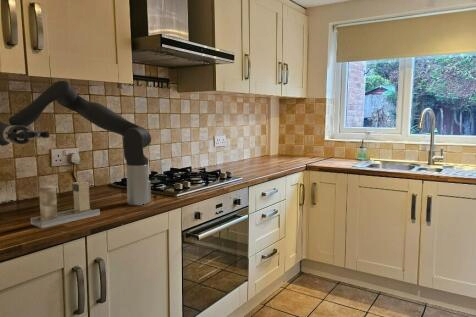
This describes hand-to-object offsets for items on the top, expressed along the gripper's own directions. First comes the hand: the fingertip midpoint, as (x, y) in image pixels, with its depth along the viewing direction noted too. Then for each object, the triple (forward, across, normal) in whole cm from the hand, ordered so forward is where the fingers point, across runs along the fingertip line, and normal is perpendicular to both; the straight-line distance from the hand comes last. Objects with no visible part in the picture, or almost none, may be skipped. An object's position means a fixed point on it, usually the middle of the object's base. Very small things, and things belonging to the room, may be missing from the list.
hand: (36, 135), depth 141 cm
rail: (+15, +2, +31) cm, 34 cm away
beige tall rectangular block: (+15, -5, +30) cm, 34 cm away
